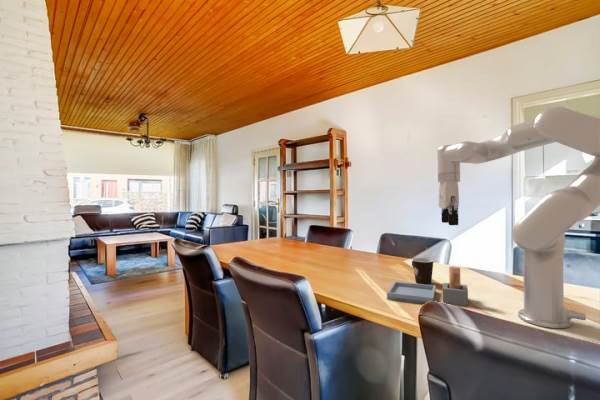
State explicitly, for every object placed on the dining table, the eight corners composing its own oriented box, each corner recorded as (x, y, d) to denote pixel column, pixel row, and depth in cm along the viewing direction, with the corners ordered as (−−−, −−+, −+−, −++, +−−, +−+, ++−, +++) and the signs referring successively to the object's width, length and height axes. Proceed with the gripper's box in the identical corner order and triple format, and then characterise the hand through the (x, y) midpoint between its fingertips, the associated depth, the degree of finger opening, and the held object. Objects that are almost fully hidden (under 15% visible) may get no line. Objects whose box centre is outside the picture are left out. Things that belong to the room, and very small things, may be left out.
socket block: (467, 298, 114) (467, 285, 114) (468, 305, 107) (467, 291, 107) (443, 295, 118) (443, 282, 118) (442, 302, 111) (442, 288, 110)
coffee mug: (436, 285, 130) (435, 262, 130) (414, 285, 132) (414, 262, 132) (430, 278, 142) (429, 256, 142) (410, 277, 143) (410, 256, 143)
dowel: (460, 299, 113) (460, 267, 113) (460, 302, 110) (460, 269, 110) (449, 298, 115) (449, 266, 115) (449, 301, 112) (449, 268, 111)
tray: (435, 291, 123) (435, 285, 123) (433, 305, 108) (432, 298, 108) (394, 287, 130) (394, 281, 130) (387, 299, 116) (386, 292, 116)
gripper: (433, 179, 125) (433, 221, 125) (444, 177, 108) (445, 226, 108) (452, 179, 123) (453, 221, 123) (467, 176, 106) (468, 226, 106)
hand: (449, 223), depth 116 cm, fingers open, 9 cm apart
